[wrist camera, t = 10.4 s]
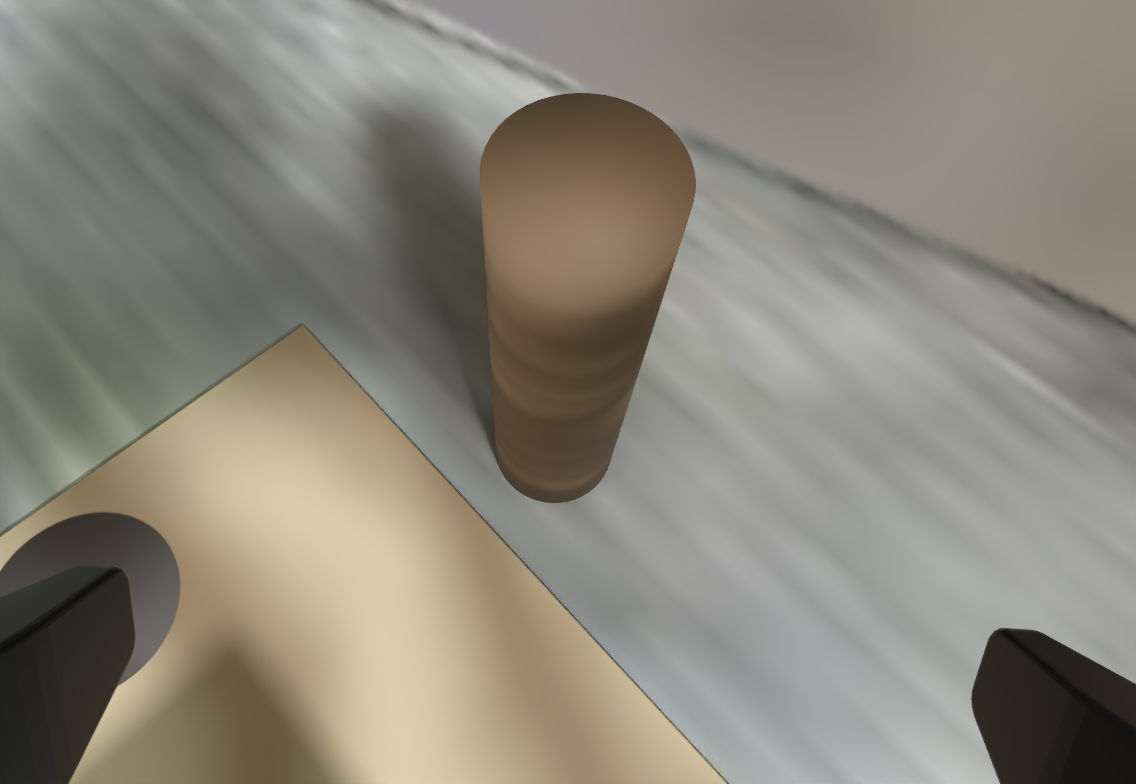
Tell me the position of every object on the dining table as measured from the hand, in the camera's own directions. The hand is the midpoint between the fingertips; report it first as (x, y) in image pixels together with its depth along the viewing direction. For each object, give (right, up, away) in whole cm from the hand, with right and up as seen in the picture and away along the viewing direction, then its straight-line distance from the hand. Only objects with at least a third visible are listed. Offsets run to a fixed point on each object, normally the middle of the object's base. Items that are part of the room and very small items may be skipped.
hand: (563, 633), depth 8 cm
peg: (0, +1, +15) cm, 15 cm away
